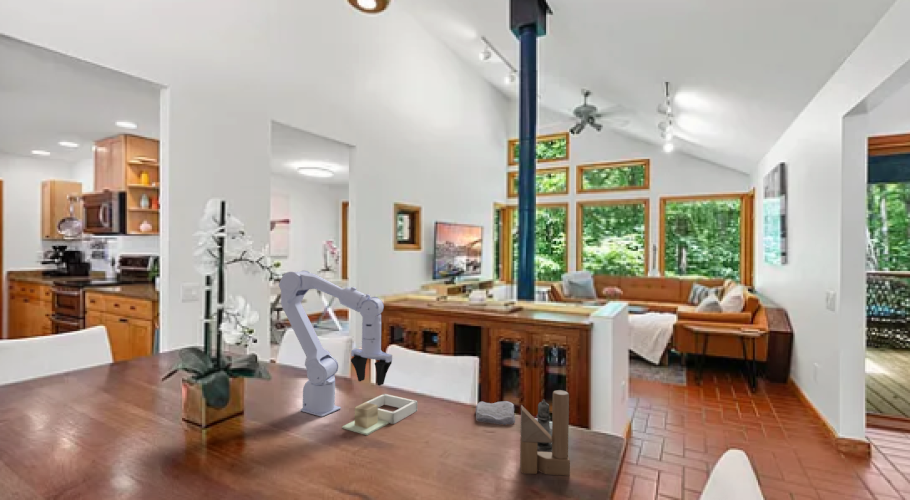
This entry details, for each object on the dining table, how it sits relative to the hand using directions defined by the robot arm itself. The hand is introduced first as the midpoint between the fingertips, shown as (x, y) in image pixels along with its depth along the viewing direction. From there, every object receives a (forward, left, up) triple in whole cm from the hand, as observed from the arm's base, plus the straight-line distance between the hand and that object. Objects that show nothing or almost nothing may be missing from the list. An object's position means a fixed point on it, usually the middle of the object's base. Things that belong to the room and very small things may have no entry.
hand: (370, 382), depth 128 cm
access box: (+4, +3, -9) cm, 11 cm away
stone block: (+34, +16, -10) cm, 39 cm away
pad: (+5, -8, -9) cm, 13 cm away
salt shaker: (+52, +6, -10) cm, 53 cm away
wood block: (+5, -8, -9) cm, 13 cm away
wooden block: (+56, -6, -10) cm, 57 cm away
